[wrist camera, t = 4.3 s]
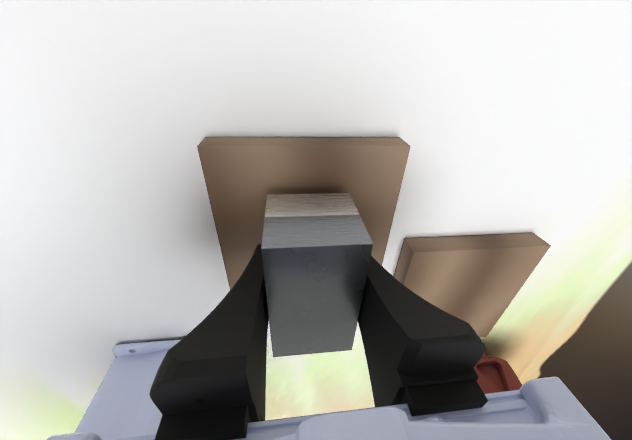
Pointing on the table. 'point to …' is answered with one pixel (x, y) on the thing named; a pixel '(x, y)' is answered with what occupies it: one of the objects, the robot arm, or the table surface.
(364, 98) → the table surface
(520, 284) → the stand
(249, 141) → the stand
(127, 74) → the table surface
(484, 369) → the mechanical component
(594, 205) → the table surface
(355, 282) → the block
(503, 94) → the table surface
